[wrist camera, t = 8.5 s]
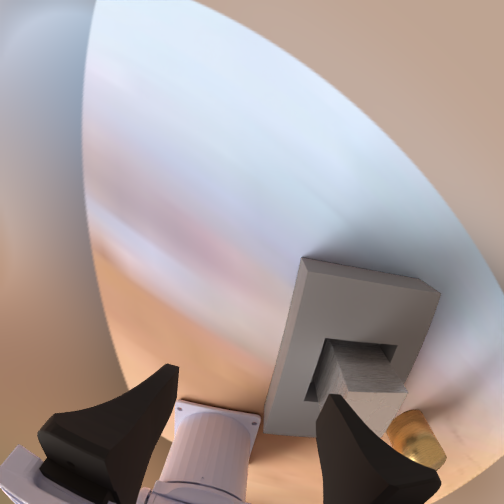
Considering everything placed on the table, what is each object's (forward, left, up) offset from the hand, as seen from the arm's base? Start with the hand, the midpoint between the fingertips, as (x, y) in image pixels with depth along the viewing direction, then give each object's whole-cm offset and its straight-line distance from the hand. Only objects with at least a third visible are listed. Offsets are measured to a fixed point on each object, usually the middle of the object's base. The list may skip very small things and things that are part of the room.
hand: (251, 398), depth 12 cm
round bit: (-11, -18, -10) cm, 23 cm away
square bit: (-2, -7, -8) cm, 11 cm away
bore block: (-2, -7, -9) cm, 12 cm away
